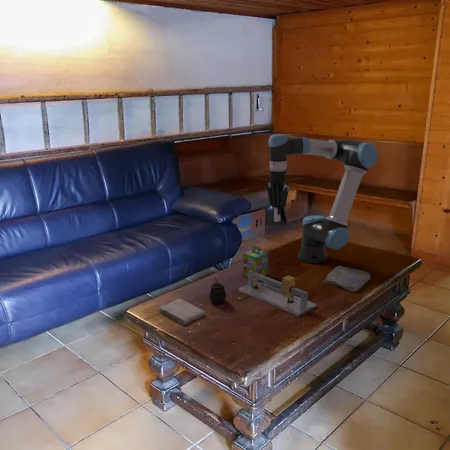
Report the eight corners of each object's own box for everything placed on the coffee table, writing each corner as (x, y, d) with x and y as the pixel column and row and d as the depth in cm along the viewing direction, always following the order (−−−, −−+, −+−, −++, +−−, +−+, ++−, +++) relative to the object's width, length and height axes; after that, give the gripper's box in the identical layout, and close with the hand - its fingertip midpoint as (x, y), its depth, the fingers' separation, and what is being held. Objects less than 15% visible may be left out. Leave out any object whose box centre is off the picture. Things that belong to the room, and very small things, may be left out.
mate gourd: (213, 306, 199) (212, 285, 196) (206, 299, 206) (205, 278, 203) (228, 303, 202) (228, 281, 199) (221, 296, 208) (221, 275, 205)
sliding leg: (287, 297, 203) (288, 275, 200) (294, 299, 200) (295, 277, 197) (281, 300, 200) (282, 278, 197) (288, 302, 198) (288, 280, 195)
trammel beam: (257, 283, 221) (257, 267, 219) (316, 306, 197) (317, 289, 195) (238, 290, 213) (238, 274, 211) (298, 316, 189) (298, 298, 187)
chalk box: (241, 275, 230) (241, 247, 226) (254, 270, 236) (254, 242, 232) (255, 280, 224) (256, 251, 219) (268, 275, 230) (268, 246, 226)
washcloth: (178, 302, 204) (178, 296, 203) (206, 316, 192) (206, 309, 191) (156, 312, 196) (156, 305, 195) (184, 326, 184) (184, 319, 183)
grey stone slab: (319, 286, 220) (354, 294, 209) (319, 277, 218) (354, 284, 208) (338, 274, 235) (371, 280, 224) (338, 265, 233) (372, 271, 223)
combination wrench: (261, 281, 214) (296, 294, 200) (263, 280, 215) (298, 293, 201) (261, 288, 215) (296, 302, 201) (263, 288, 216) (298, 301, 202)
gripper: (261, 169, 211) (261, 219, 218) (283, 173, 201) (282, 225, 208) (272, 167, 215) (271, 216, 222) (294, 170, 206) (293, 222, 213)
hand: (277, 220), depth 215 cm, fingers closed
